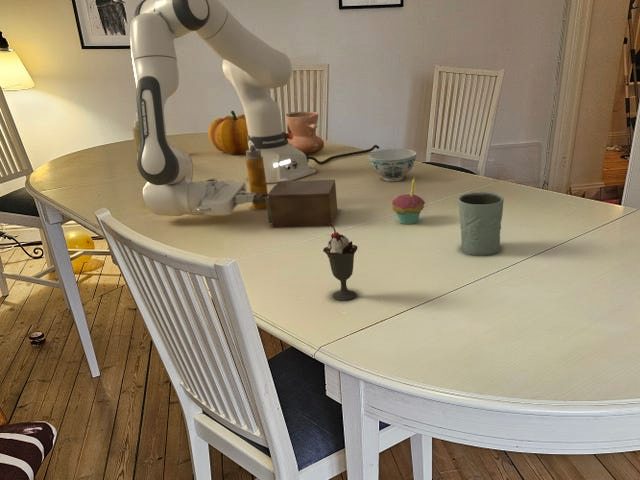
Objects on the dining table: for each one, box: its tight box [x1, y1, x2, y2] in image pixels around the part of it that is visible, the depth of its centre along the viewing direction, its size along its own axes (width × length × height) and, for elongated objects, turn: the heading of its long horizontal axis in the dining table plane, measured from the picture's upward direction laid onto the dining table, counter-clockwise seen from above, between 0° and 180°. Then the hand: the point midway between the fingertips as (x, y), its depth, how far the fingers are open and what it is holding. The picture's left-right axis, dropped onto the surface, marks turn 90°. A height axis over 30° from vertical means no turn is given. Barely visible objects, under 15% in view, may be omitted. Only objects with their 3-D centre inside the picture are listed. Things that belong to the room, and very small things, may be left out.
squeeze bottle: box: [132, 109, 140, 155], centre depth 244 cm, size 8×8×18 cm
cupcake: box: [391, 175, 426, 225], centre depth 167 cm, size 9×8×12 cm
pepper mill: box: [245, 145, 269, 210], centre depth 183 cm, size 5×5×17 cm
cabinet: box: [268, 179, 338, 228], centre depth 174 cm, size 16×14×9 cm
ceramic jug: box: [284, 111, 325, 156], centre depth 242 cm, size 18×14×14 cm
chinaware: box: [368, 148, 417, 182], centre depth 206 cm, size 15×15×8 cm
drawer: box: [253, 184, 277, 224], centre depth 174 cm, size 19×12×7 cm, turn 87°
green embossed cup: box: [457, 191, 505, 257], centre depth 147 cm, size 10×10×12 cm
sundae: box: [322, 223, 358, 302], centre depth 127 cm, size 7×7×15 cm
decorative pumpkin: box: [207, 110, 249, 155], centre depth 250 cm, size 20×22×15 cm
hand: (255, 197), depth 174 cm, fingers closed, pressing on drawer
